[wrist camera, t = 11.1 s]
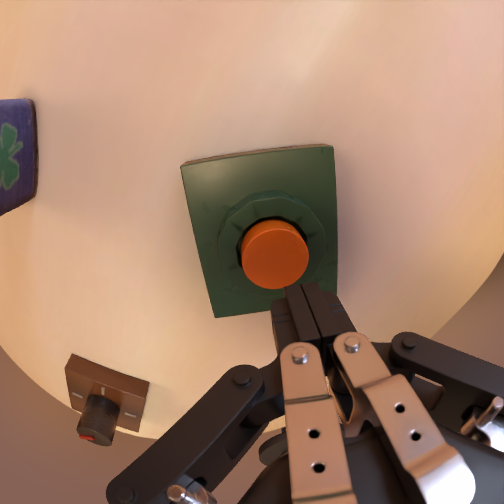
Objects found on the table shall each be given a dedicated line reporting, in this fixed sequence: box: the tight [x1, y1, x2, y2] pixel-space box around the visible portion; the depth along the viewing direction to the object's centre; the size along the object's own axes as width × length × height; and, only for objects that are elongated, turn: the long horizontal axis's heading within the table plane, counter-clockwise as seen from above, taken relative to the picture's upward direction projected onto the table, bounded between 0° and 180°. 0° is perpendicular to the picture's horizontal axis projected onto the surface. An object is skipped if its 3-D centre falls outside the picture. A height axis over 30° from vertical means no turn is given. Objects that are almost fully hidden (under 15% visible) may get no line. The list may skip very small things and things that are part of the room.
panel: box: [65, 354, 149, 432], centre depth 28 cm, size 10×10×3 cm
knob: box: [77, 395, 120, 446], centre depth 24 cm, size 4×4×5 cm
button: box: [241, 219, 309, 289], centre depth 17 cm, size 4×4×2 cm
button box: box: [180, 144, 338, 318], centre depth 19 cm, size 12×10×4 cm
